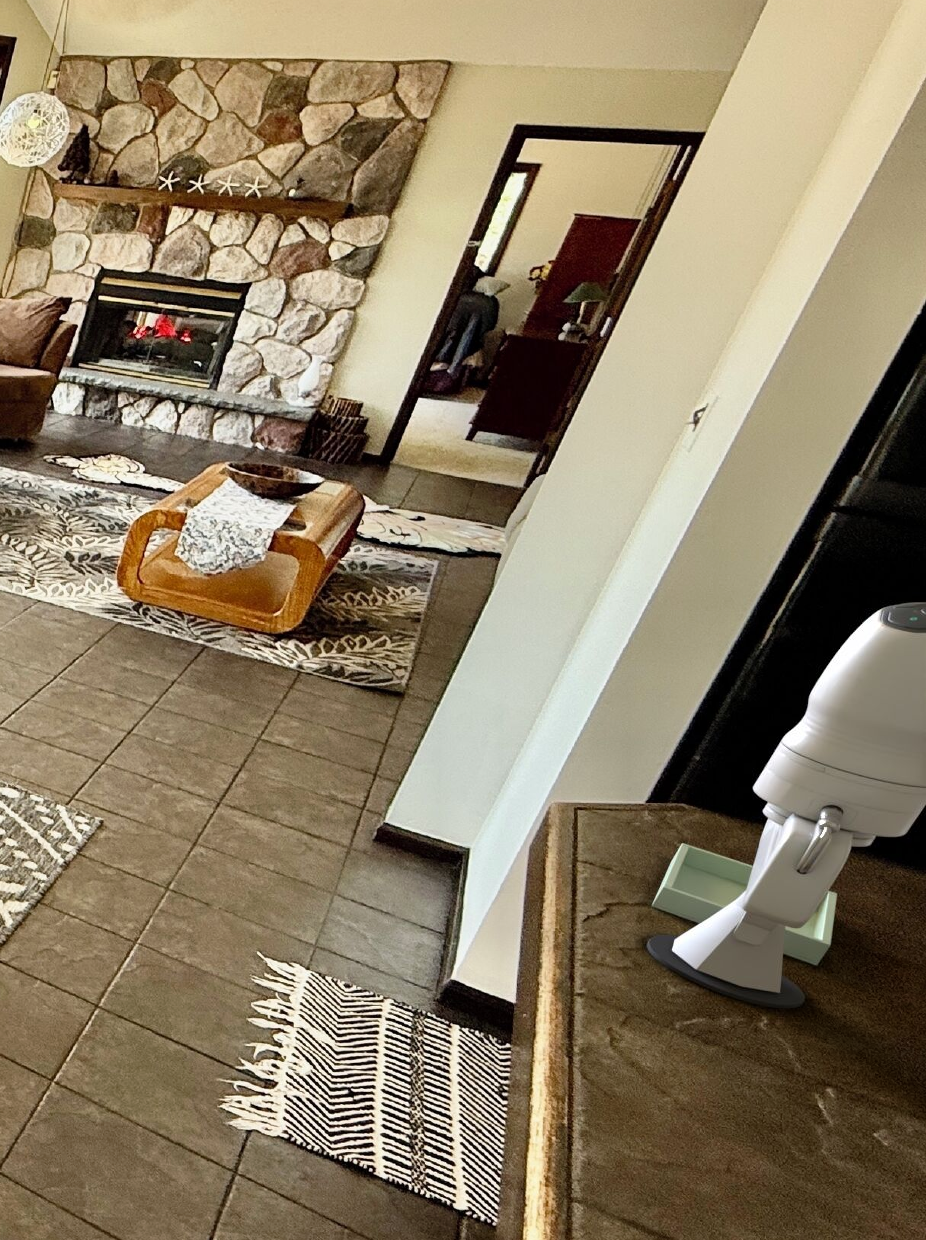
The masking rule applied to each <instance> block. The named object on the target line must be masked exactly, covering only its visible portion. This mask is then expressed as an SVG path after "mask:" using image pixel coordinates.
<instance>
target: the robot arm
mask: <svg viewBox="0 0 926 1240" xmlns="http://www.w3.org/2000/svg"><path fill="white" fill-rule="evenodd" d="M807 703H808V704H807V708H806V711H805V714H804V716H803V717H802V718H801V720H800V721H799V722H798V723H797V724H796V725H795V726H794V727H793V728H792V729H791V730H789V731H788V732H787V733H785V735H784V736H783V737H782V739H781V740H780V742H779V744H778V745H777V747H776V749H774V752H773V754H772V755H771V757H770V759H769V760H768V762H767V763H766V764H765V766H764V768H763V770H762V772H761V773H760V774H759V777H757V779H756V781H755V783H754V784H753V786H752V790H753V792H754V793H755V794H756V795H757V796H758V797H759V798H761V799H762V800H764V801H766V802H767V803H766V804H765V806H764V808H763V809H762V813H763V815H764V816H765V817H766V818H767V820H766V823H765V825H764V828H763V831H762V833H761V836H760V840H759V843H758V848H757V851H756V855H755V857H754V861H753V865H752V866H753V868H752V872H751V875H750V879H749V882H748V886H747V889H746V893H745V896H744V899H743V903H742V908H743V910H744V911H746V912H745V914H744V915H743V917H742V918H741V920H740V922H739V923H738V925H737V927H736V928H735V930H734V933H733V934H734V937H735V938H736V939H738V940H740V941H743V942H746V943H749V944H751V945H755V946H758V945H762V944H763V943H764V941H765V940H766V938H767V937H768V935H769V934H770V932H771V931H772V930H773V929H774V928H775V927H776V926H777V925H778V924H781V925H784V926H787V927H791V928H801V927H802V926H804V925H805V924H806V923H807V922H808V921H809V920H810V918H811V917H812V915H813V914H814V912H815V911H816V909H817V908H818V906H819V905H820V903H821V901H822V900H823V898H824V897H825V895H826V894H827V892H828V891H830V889H831V887H832V886H833V885H834V883H835V881H836V879H837V878H838V876H839V875H840V873H841V872H842V869H843V868H844V866H845V864H846V862H847V860H848V858H849V855H850V852H851V850H852V847H854V848H855V847H857V848H859V847H860V848H862V847H863V848H865V847H869V846H871V845H872V843H873V842H874V840H875V839H876V837H884V838H897V837H903V836H905V835H906V834H907V833H908V832H909V830H910V829H911V827H912V826H913V824H914V823H915V821H916V820H917V818H918V817H919V815H920V814H921V812H922V811H923V809H924V808H925V806H926V601H925V602H924V601H923V602H922V601H921V602H920V601H919V602H917V601H916V602H905V603H900V604H894V605H893V604H892V605H889V606H886V607H885V606H884V607H883V608H881V609H879V610H877V611H876V612H874V613H872V615H871V616H869V617H868V618H867V619H865V620H864V621H863V622H862V624H860V626H858V627H857V628H856V630H854V632H853V633H852V634H850V636H849V637H848V638H847V639H846V640H845V642H844V643H843V644H842V645H841V646H840V649H838V651H837V652H836V653H835V655H834V656H833V658H832V659H831V660H830V662H829V663H828V665H827V666H826V668H825V669H824V670H823V672H822V674H821V675H820V677H819V678H818V679H817V681H816V682H815V685H814V686H813V688H812V690H811V692H810V694H809V696H808V702H807Z"/></svg>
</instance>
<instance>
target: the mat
mask: <svg viewBox="0 0 926 1240" xmlns="http://www.w3.org/2000/svg"><path fill="white" fill-rule="evenodd" d="M680 936H681V935H673V934H670V935H669V934H659V935H655V936H652V937H650V938H649V940H648V941H647V943H646V948H647V950H648V952H649V954H650V955H652V957H653V958H654V959H655V960H657V962H658V963H660V964H662V965H663V966H664V967H666V968H667V969H669V970H670V971H672V972H674V973H675V974H677V975H679V976H681V977H683V978H685V979H686V980H688V981H691V982H693V983H695V984H697V985H699V986H701V987H703V988H705V989H708V990H710V991H713V992H716V993H718V994H721V995H724V996H727V997H728V998H732V999H735V1000H738V1001H742V1002H746V1003H749V1004H753V1005H757V1006H760V1007H761V1006H762V1007H767V1008H772V1009H773V1008H774V1009H783V1010H785V1009H787V1010H789V1009H796V1008H798V1007H800V1006H802V1005H803V1004H804V1002H805V999H806V997H805V994H804V992H803V990H802V989H801V988H800V986H798V985H797V984H796V983H795V982H794V981H792V980H791V979H790V978H788V977H786V975H783V974H782V976H781V987H780V993H778V992H772V991H766V990H760V989H754V988H748V987H742V986H739V985H736V984H734V983H731V982H728V981H726V980H723V979H720V978H718V977H715V976H712V975H709V974H707V973H704V972H701V971H699V970H696V969H695V968H694V967H692V966H691V965H690V964H688V963H687V962H686V961H685V960H683V959H682V958H681V957H679V956H678V955H677V954H676V953H674V952H673V951H672V948H673V945H674V941H675V939H677V938H678V937H680Z"/></svg>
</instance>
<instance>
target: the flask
mask: <svg viewBox="0 0 926 1240" xmlns="http://www.w3.org/2000/svg"><path fill="white" fill-rule="evenodd" d="M745 893H746V891H745V892H744V893H743V894H742V895H741V896H740V897H739V898H737V899H736V900H735V901H734V902H732V903H731V904H729V905H728V906H726V907H725V908H723V909H722V910H720V911H719V912H717V913H716V914H714V915H713V916H711V917H710V918H708V919H707V920H705V921H703V922H702V923H698V924H697V925H695V926H694V927H692V928H690V929H688V930H687V931H685V932H684V933H682V934H681V935H679V936H680V937H678V938H677V939H675V941H674V945H673V948H672V951H673V952H674V953H676V954H677V955H678V956H679V957H681V958H682V959H683V960H685V961H686V962H687V963H688V964H690V965H691V966H692V967H694V968H695V969H696V970H699V971H701V972H704V973H707V974H709V975H712V976H715V977H718V978H720V979H723V980H726V981H728V982H731V983H734V984H736V985H739V986H742V987H748V988H754V989H760V990H766V991H772V992H778V993H780V987H781V976H782V975H783V960H784V959H783V956H784V954H783V945H784V936H785V927H786V926H784V925H781V924H778V925H777V926H776V927H775V928H774V929H773V930H772V931H771V932H770V934H769V935H768V937H767V938H766V940H765V941H764V943H763V944H762V945H758V946H755V945H751V944H749V943H746V942H743V941H740V940H738V939H736V938H735V937H734V934H733V933H734V930H735V928H736V927H737V925H738V923H739V922H740V920H741V918H742V917H743V915H744V914H745V912H746V911H744V910H743V908H742V903H743V899H744V896H745Z"/></svg>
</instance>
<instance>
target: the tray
mask: <svg viewBox="0 0 926 1240" xmlns="http://www.w3.org/2000/svg"><path fill="white" fill-rule="evenodd" d="M752 868H753V865H751V864H748V863H745V862H741V861H740V860H736V859H732V858H729V857H728V856H724V855H722V854H721V855H720V854H718V853H715V852H711V851H708V850H705V849H702V848H700V847H696V846H693V845H690V844H687V843H681V844H680V846H679V848H678V850H677V851H676V853H675V855H674V856H673V858H672V860H671V862H670V863H669V866H668V867H667V870H666V872H665V875H664V877H663V880H662V881H661V884H660V887H659V889H658V891H657V893H656V895H655V897H654V900H653V902H652V904H651V907H652V908H655V909H658V910H661V911H664V912H666V913H669V914H671V915H675V916H676V917H677V916H678V917H681V918H683V919H686V920H689V921H691V922H694V923H696V924H700V923H702V922H703V921H705V920H707V919H708V918H710V917H711V916H713V915H714V914H716V913H717V912H719V911H720V910H722V909H723V908H725V907H726V906H728V905H729V904H731V903H732V902H734V901H735V900H736V899H737V898H739V897H740V896H741V895H742V894H743V893H744V892H745V891H746V889H747V886H748V882H749V879H750V875H751V872H752ZM837 898H838V893H836V892H834V891H831V890H829V891H828V892H827V894H826V895H825V897H824V898H823V900H822V901H821V903H820V905H819V906H818V908H817V909H816V911H815V912H814V914H813V915H812V917H811V918H810V920H809V921H808V922H807V923H806V924H805V925H804V926H802V927H801V928H791V927H787V926H786V927H785V936H784V945H783V955H786V956H789V957H791V958H794V959H797V960H800V961H802V962H805V963H809V964H811V965H813V966H818V965H819V963H820V961H821V960H822V959H823V957H824V956H825V954H826V953H827V951H828V950H829V948H830V947H831V944H832V936H833V929H834V923H835V913H836V907H837V906H836V905H837V900H838V899H837Z"/></svg>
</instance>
